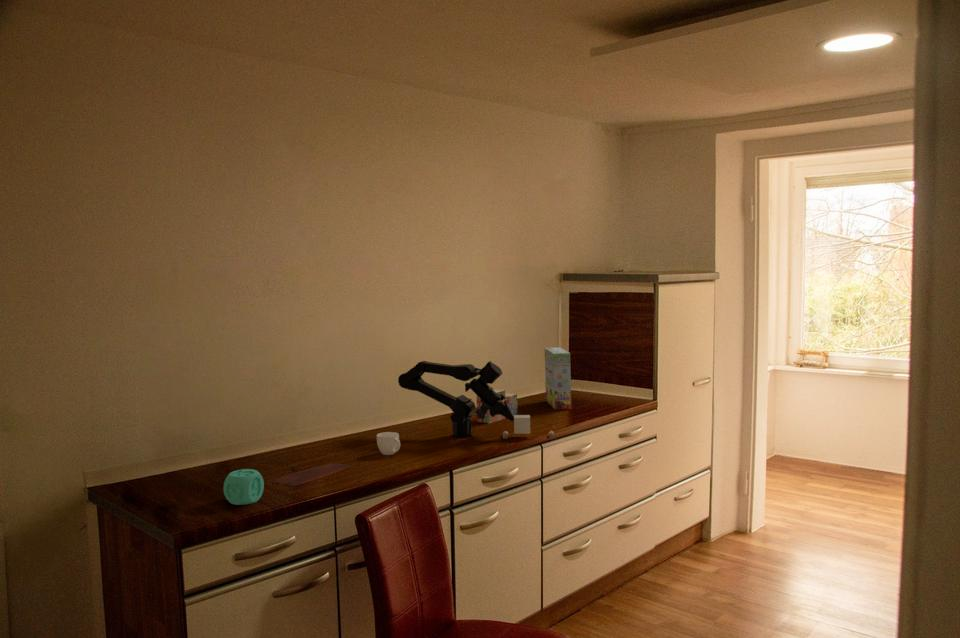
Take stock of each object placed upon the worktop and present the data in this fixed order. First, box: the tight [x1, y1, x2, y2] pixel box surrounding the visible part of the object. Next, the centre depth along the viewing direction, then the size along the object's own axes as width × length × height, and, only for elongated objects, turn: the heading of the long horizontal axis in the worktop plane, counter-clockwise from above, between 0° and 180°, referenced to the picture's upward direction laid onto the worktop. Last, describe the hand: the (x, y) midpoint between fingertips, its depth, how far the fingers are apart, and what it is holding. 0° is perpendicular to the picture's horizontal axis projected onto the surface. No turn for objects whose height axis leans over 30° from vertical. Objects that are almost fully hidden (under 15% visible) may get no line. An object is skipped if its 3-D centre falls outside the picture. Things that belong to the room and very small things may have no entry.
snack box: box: [543, 346, 572, 411], centre depth 343 cm, size 22×9×26 cm, turn 6°
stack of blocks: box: [476, 388, 518, 424], centre depth 316 cm, size 21×6×12 cm, turn 143°
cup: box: [376, 431, 401, 456], centre depth 259 cm, size 8×10×7 cm
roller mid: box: [548, 430, 556, 440], centre depth 281 cm, size 6×2×2 cm, turn 177°
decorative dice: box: [223, 468, 265, 506], centre depth 210 cm, size 8×8×8 cm
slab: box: [513, 414, 531, 435], centre depth 281 cm, size 6×5×6 cm
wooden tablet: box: [273, 462, 352, 488], centre depth 235 cm, size 27×10×2 cm, turn 147°
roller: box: [502, 430, 509, 440], centre depth 282 cm, size 6×2×2 cm
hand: (513, 420), depth 281 cm, fingers closed
